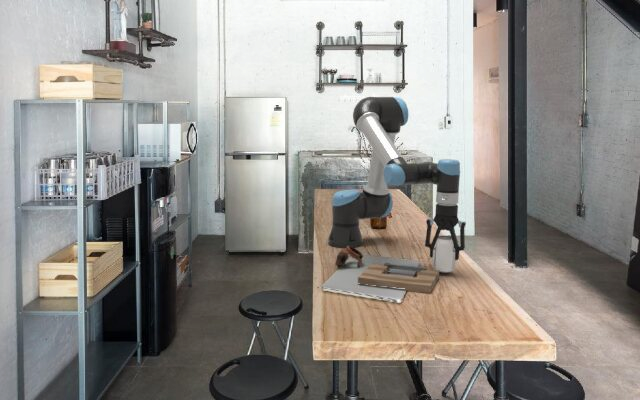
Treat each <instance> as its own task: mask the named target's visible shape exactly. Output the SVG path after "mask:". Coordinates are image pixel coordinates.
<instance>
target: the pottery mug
mask: <svg viewBox="0 0 640 400" xmlns="http://www.w3.org/2000/svg"><path fill="white" fill-rule="evenodd" d="M349 257H351V258H352V259H355V260H357V261H358V262H357V264H356V266H359V265H360V266H362V263H363V258H364V255H363V254H362V252H361V251H359V250H358V249H357V248H356V247H351V246H347V247H346V248H343V249H341V250H340V251H339V252H338V254H337V256H336V260H335V262H334V263H335V266H336V267H339V266H341V267H344V266H345V264H346V262H347V260H348V259H349Z"/></svg>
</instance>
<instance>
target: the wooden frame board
mask: <svg viewBox="0 0 640 400" xmlns="http://www.w3.org/2000/svg"><path fill="white" fill-rule="evenodd" d="M387 272H388V266H384V263H383V264H380V263H372V264H371V265H370V266H368V267H367V268H366V269H365V270H364V271H363V272H362V273H361V274H360V275H358V276H357V284H358V283H360V284H368V285H376V286H387V287H396V288H405V289H406V290H405V291H408V292H414V293H415V292H416V293H425V294H431V293H432V291H433V289H434V288H435V286H436V284H437V282H438V281H439V278H440V272H439V270H436V269H428V268H426V270H421V271H420V272H418V274H417V276H416V277H415V276H408V275H407V276H405V275H396V274H389V273H387ZM386 273H387V274H386Z"/></svg>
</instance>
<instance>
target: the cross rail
mask: <svg viewBox="0 0 640 400" xmlns="http://www.w3.org/2000/svg"><path fill="white" fill-rule="evenodd" d="M383 265H384V266H388V271H390V272H391V270H400V271H408V272H409V271H410V272H418V273H420V271H421V270H426V269H427V267H425V266H416V265H406V264H398V263H397V264H395V263H388V262H385V263H383Z"/></svg>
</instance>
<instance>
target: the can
mask: <svg viewBox="0 0 640 400" xmlns="http://www.w3.org/2000/svg"><path fill="white" fill-rule="evenodd" d="M435 248H436V253H435V267H434V270H439V273H445V274H447V273H451V272H454V270H452V261H453V251H454V250H455V248H454V244H453V241H452V237H451V235H439V236H438V239H437V241H436V244H435Z"/></svg>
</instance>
